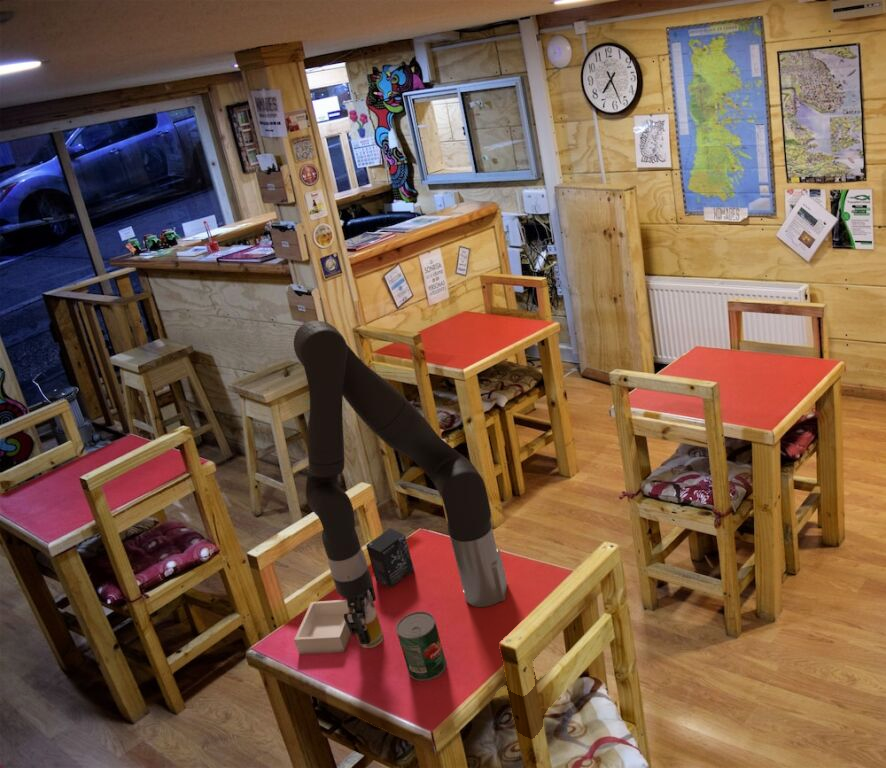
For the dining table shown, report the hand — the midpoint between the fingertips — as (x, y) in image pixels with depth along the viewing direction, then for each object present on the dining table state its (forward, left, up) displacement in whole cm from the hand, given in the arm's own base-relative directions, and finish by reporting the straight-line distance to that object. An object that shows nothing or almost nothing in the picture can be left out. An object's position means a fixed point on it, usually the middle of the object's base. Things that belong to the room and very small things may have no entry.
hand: (369, 632), depth 189 cm
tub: (+10, -3, -2) cm, 11 cm away
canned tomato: (-14, +9, -2) cm, 17 cm away
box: (-1, -22, -2) cm, 22 cm away
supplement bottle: (0, 0, -2) cm, 2 cm away
